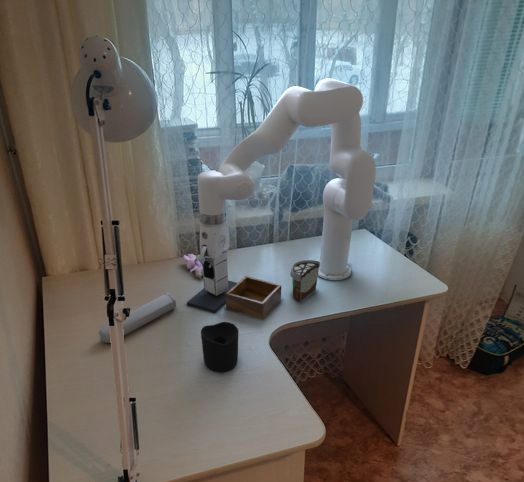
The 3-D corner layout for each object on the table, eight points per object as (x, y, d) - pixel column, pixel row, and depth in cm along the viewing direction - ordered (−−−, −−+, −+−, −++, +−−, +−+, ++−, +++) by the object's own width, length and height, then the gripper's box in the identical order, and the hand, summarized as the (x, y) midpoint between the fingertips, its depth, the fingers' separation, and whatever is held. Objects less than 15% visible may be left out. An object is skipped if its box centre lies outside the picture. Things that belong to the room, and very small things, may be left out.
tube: (108, 337, 132) (177, 299, 147) (95, 325, 133) (165, 289, 149) (107, 350, 136) (175, 312, 151) (95, 338, 137) (163, 301, 153)
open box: (245, 290, 161) (245, 275, 158) (280, 300, 156) (281, 285, 153) (226, 308, 152) (225, 293, 148) (262, 319, 147) (263, 303, 144)
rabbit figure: (212, 280, 168) (194, 257, 177) (213, 266, 164) (194, 242, 173) (195, 285, 166) (178, 260, 175) (195, 270, 162) (177, 246, 170)
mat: (217, 280, 166) (217, 277, 166) (243, 287, 163) (243, 284, 162) (187, 304, 153) (186, 302, 153) (214, 313, 150) (214, 310, 149)
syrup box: (229, 289, 157) (228, 247, 148) (216, 296, 153) (214, 253, 145) (216, 283, 160) (214, 241, 151) (203, 290, 156) (200, 247, 148)
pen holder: (210, 349, 135) (209, 318, 129) (243, 355, 133) (243, 324, 127) (197, 370, 128) (194, 338, 122) (231, 377, 126) (231, 345, 120)
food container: (302, 283, 165) (303, 255, 159) (318, 288, 162) (320, 261, 156) (281, 298, 157) (282, 270, 151) (298, 304, 154) (299, 276, 148)
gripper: (207, 230, 135) (211, 287, 145) (239, 209, 147) (239, 264, 158) (184, 224, 137) (189, 281, 148) (217, 205, 150) (219, 258, 161)
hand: (215, 272), depth 153 cm, fingers closed on syrup box, 6 cm apart
